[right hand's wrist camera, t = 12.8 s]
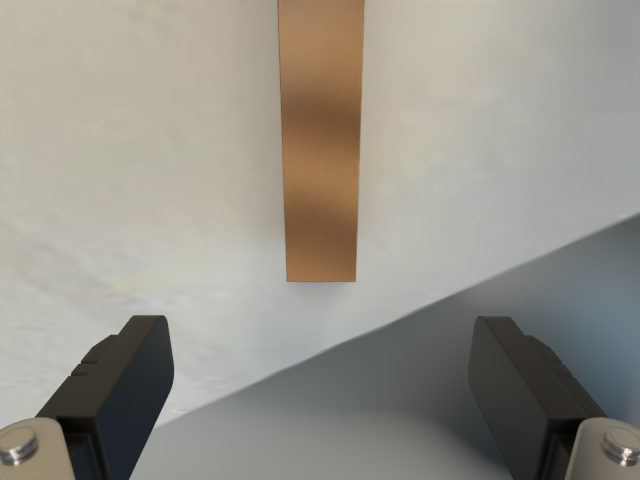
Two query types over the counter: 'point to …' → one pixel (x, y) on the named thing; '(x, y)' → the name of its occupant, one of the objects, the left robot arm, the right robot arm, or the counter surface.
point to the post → (321, 135)
